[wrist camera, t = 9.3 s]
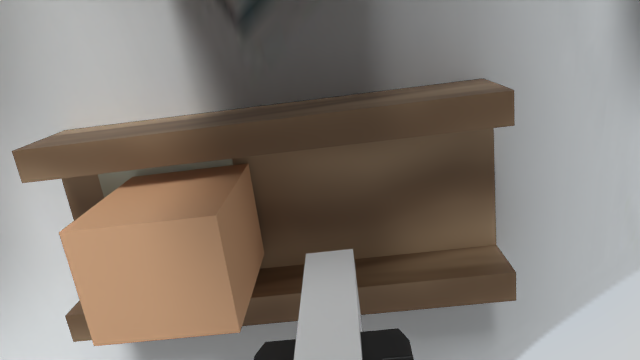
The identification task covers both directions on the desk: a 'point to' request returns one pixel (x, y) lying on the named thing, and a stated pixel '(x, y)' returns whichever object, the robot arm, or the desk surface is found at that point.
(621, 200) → the desk surface
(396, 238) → the chute
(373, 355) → the robot arm
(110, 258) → the block
